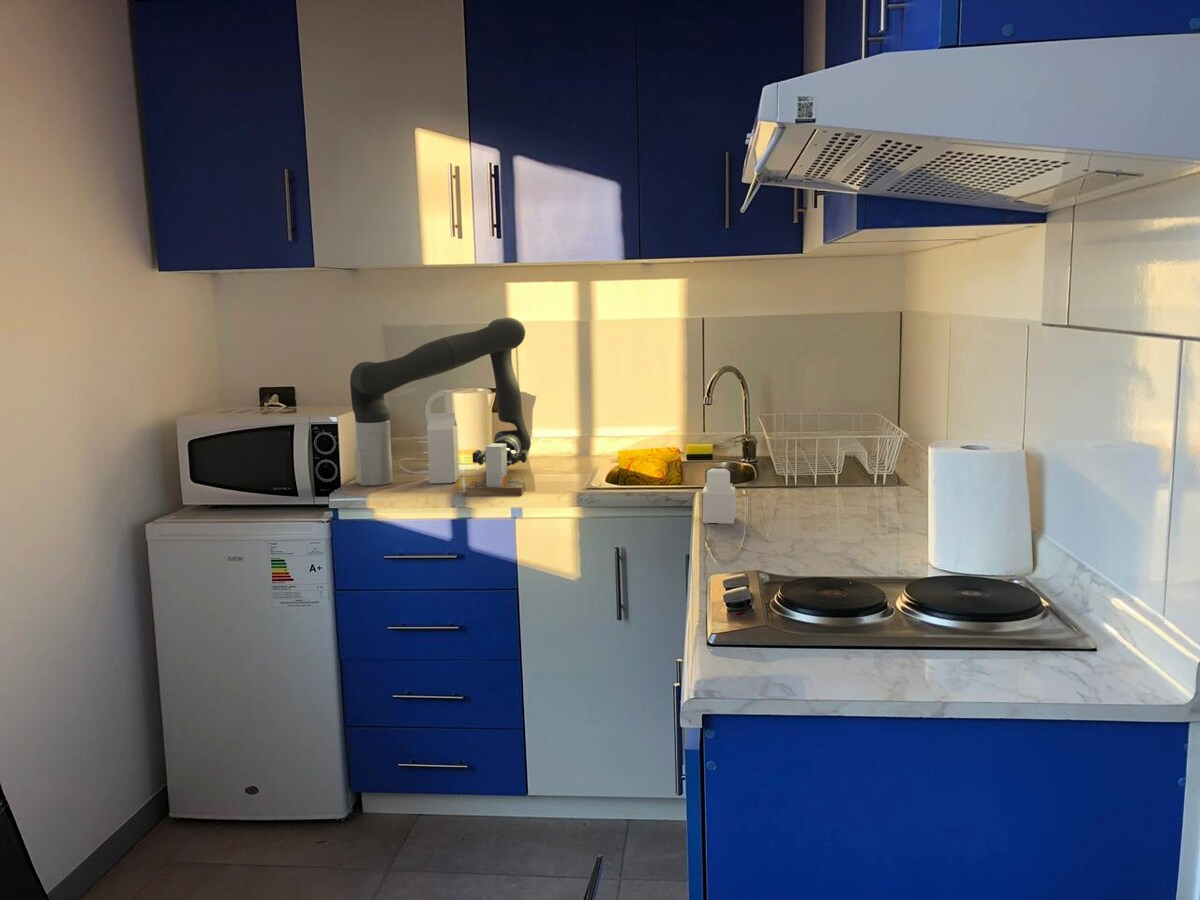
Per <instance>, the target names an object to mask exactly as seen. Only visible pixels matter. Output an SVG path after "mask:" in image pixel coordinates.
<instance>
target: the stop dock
mask: <svg viewBox="0 0 1200 900" xmlns="http://www.w3.org/2000/svg"><path fill="white" fill-rule="evenodd" d="M507 486H508V487H487V484H486V480H485V481H484V482H483V483H482V484H481V486H479V481H477V480H476V481H472V482H471V483H470V484H469V485H468V486H467V487H466V496H467V497H482V496H483V497H487V496H488V497H490V496H491V497H492V496H493V497H496V496H497V497H501V496H502V497H503V496H504V497H505V496H506V497H507V496H509V497H511V496H522V495H523V494H524V492H525V491H526V481H525V480H507Z"/></svg>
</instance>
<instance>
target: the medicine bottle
mask: <svg viewBox="0 0 1200 900" xmlns="http://www.w3.org/2000/svg"><path fill="white" fill-rule="evenodd" d="M704 472H705V473H704V475H705V476H704V478H705V479H704V480H705V481H704V483H705V485H704V486H703V490H702V491H701V523H702V522H704V523H703V524H708V523H718V525H719V524H721V525H734V524H735V521H736V487H735V486H733V470H732V469H731V468H729V467H726V466H712V467H709V468H707V469H706V470H705V471H704Z"/></svg>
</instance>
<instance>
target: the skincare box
mask: <svg viewBox="0 0 1200 900" xmlns="http://www.w3.org/2000/svg"><path fill="white" fill-rule="evenodd" d="M485 451H486V463H485V473H486V474H485V475H486V476H485V477H486V480H485V481H486V484H487V487H508V486H507V481H508V466H507V444H497V443H494V442H493V443H490V444H488V445H486V446H485Z"/></svg>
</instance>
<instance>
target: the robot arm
mask: <svg viewBox="0 0 1200 900" xmlns="http://www.w3.org/2000/svg"><path fill="white" fill-rule="evenodd" d="M525 338H526V328H525V326H524V324H523V323H522V322H521V321H519V320H518V319H515V318H513V317H510V316H509V317H508V316H507V317H501V318H497V319H494V320H492V321H491V322H490V323H488V326H486V327H483V328H481V329H477V330H474V331H469V332H463V333H458V334H453V335H449V336H445V337H441V338H438V339H435V340H432V341H430V342H426V343H424V344H422V345H420V346H418V347H417V348H415V349H413V350H412V351H411V352H409V353H406V354H405V355H403V356H400V357H397V358H393V359H389V360H386V361H380V362H375V361H362V362H359V363H358V364H356V365H355V366H354V367H353V369H352V371H351V373H350V382H349V383H350V385H349V386H350V396H351V397H350V398H351V409H352V411H353V414H354V421H355V441H356V443H355V444H356V448H354V458H355V459H354V461H355V479H356V480H355V481H356V483H357V484H358V485H360V486H361V487H363V486H366V487H367V486H383V485H387V484H391V483H393V476H394V474H393V461H392V456H393V455H392V439H391V438H392V437H391V421H390V419H391V418H390V417H391V416H390V415H391V414H390V410H389V408H388V407H387V404H386V401H385V395H386V394H388V393H390V392H392V391H394V390H396V389H398V388H399V387H402V386H404V385H406V384H409V383H411V382H415V381H420V380H423V379H427V378H431V377H434V376H437V375H440V374H443V373H446V372H449V371H452V370H455V369H457V368H459V367H462V366H465V365H467V364H469V363H471V362H473V361H477V359H480V358H482V357H485V356H486V355H489V356H490V361H491V365H492V370H493V376H494V377H493V378H494V383H495V391H496V405H497V414H498V415H497V417H498V420H499V422H501V423H505V424H506V423H509V424H513V425H514V426H515V428H516V429H512V430H510V429H509V430H500V431H497V433H495V436H494V438H493V440H494V441H493V443H497V444H507V467H509V466H511V465H516V464H519V463H520V462H521V463H523V464H524V463H526V462H527V460H528V452H529V451H530V448H531V443H532V442H531V438H530V437H531V436H530V434H529V433H528V429H527V426H526V423H525V419H524V415H523V406H522V395H521V389H520V385H519V383H518V379H517V377H516V374H515V371H514V366H513V361H512V360H513V358H512V351H513V350H514V349H516V348H518V347H519V346H520V345H522V343H523V342H524V340H525ZM471 456H472V463H473V464H478V465H479V466H482V465H483V464H486V450H484V451H482V450H480V449H477V450H475V451H473V452H472V455H471Z"/></svg>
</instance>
